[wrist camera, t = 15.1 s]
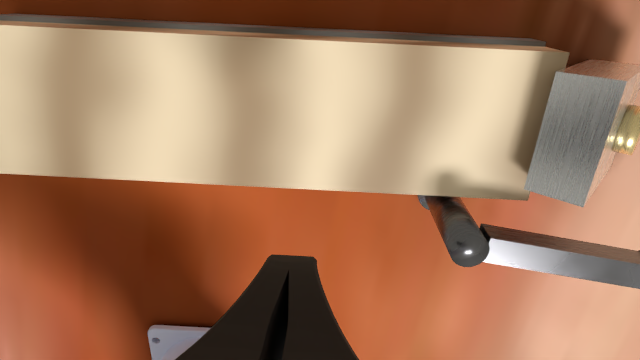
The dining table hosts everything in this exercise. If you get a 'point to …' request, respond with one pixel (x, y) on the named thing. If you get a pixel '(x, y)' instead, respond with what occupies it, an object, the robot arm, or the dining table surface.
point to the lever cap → (585, 129)
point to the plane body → (272, 105)
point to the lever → (529, 248)
